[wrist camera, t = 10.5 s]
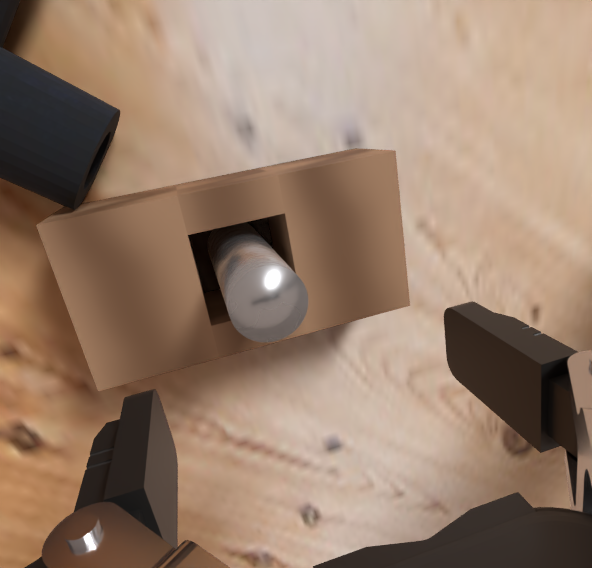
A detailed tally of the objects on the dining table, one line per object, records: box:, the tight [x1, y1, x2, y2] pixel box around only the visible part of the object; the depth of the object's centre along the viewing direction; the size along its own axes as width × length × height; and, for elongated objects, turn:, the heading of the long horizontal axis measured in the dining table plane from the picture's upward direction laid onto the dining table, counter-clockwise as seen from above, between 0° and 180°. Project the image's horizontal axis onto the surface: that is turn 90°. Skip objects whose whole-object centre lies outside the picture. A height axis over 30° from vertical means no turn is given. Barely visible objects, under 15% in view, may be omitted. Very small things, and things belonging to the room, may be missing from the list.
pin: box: [208, 222, 308, 342], centre depth 22 cm, size 3×3×10 cm
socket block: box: [36, 148, 410, 391], centre depth 24 cm, size 16×8×5 cm, turn 101°
